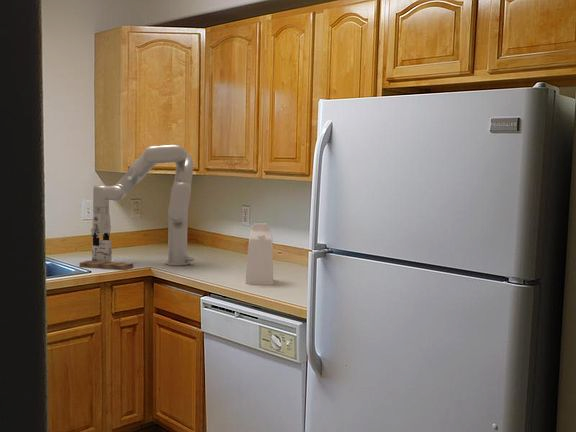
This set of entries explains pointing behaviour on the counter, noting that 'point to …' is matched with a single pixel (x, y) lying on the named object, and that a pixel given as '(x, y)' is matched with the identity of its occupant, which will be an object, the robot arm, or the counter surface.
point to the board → (106, 265)
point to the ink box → (102, 251)
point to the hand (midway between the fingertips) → (101, 244)
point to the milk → (260, 255)
